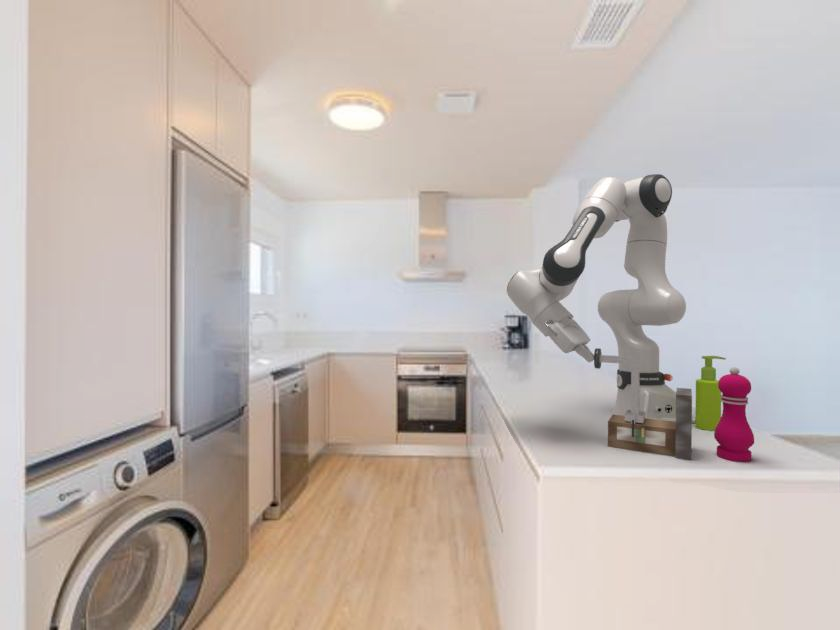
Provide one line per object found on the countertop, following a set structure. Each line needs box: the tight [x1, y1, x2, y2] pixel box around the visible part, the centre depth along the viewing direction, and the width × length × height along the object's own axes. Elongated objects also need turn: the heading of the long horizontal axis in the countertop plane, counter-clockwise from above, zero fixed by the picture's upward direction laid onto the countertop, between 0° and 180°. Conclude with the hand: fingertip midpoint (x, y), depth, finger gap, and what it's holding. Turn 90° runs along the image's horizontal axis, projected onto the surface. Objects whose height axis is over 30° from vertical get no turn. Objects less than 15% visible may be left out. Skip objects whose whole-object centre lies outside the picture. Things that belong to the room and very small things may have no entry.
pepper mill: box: [714, 366, 755, 463], centre depth 97 cm, size 7×7×20 cm
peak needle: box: [641, 428, 645, 437], centre depth 100 cm, size 1×1×2 cm, turn 59°
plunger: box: [593, 347, 645, 437], centre depth 106 cm, size 11×8×20 cm
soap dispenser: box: [694, 355, 727, 432], centre depth 121 cm, size 6×7×20 cm
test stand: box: [607, 387, 693, 461], centre depth 103 cm, size 17×10×14 cm, turn 59°
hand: (592, 360), depth 110 cm, fingers closed, pressing on plunger
